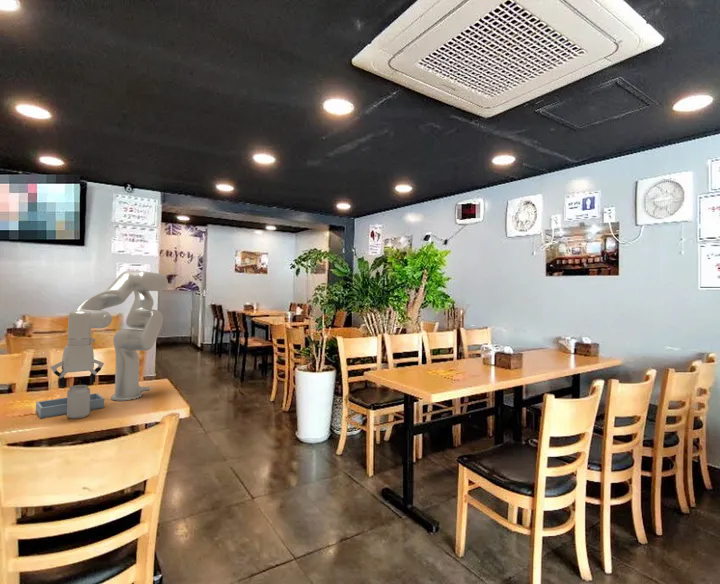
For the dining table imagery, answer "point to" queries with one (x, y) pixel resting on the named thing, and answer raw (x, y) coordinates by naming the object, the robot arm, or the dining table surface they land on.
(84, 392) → the can
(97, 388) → the dining table surface
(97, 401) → the tray
